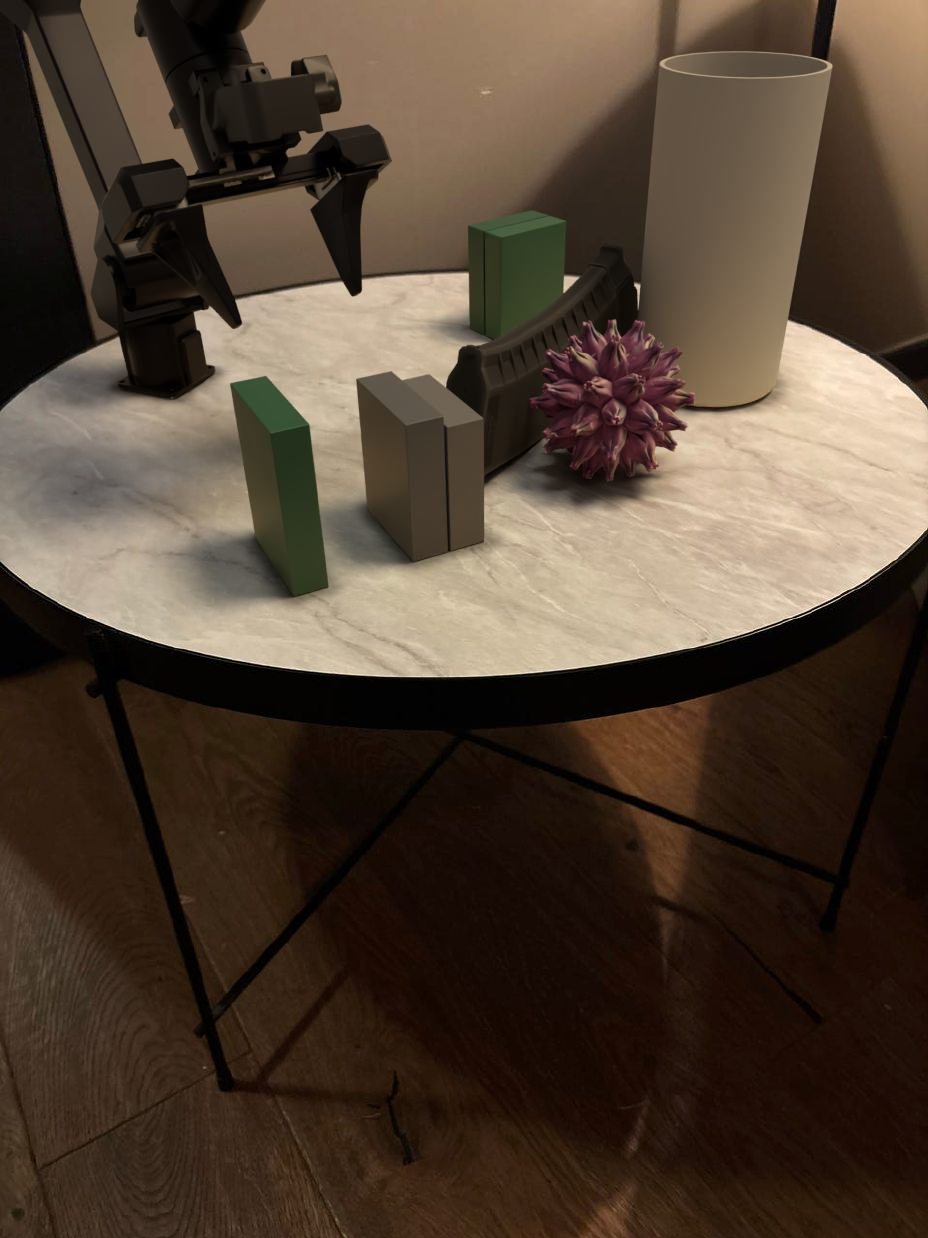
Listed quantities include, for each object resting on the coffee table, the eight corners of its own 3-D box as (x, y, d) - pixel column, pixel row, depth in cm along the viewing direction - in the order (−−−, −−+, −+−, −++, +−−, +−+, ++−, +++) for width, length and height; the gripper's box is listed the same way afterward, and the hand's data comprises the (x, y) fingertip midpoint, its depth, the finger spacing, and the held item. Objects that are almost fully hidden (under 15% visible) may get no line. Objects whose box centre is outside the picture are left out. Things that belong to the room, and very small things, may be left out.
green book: (255, 538, 71) (229, 382, 64) (288, 529, 71) (266, 375, 65) (293, 597, 65) (270, 432, 58) (329, 586, 66) (309, 423, 59)
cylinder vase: (634, 408, 86) (663, 78, 71) (630, 351, 96) (656, 51, 81) (785, 413, 85) (847, 78, 70) (766, 355, 95) (816, 50, 80)
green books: (500, 342, 98) (500, 236, 92) (469, 328, 102) (467, 224, 96) (562, 323, 102) (566, 220, 96) (530, 310, 105) (532, 209, 100)
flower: (517, 469, 81) (643, 410, 84) (596, 534, 72) (734, 466, 75) (487, 335, 74) (625, 275, 76) (570, 389, 65) (724, 319, 67)
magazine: (453, 399, 67) (635, 164, 81) (412, 389, 68) (598, 159, 83) (490, 569, 80) (641, 340, 95) (455, 558, 82) (609, 334, 96)
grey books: (366, 508, 74) (355, 378, 68) (434, 490, 76) (428, 362, 70) (413, 562, 68) (405, 425, 62) (484, 541, 70) (483, 406, 64)
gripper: (94, 17, 54) (208, 306, 56) (385, -11, 63) (472, 239, 65) (57, 114, 63) (157, 358, 66) (314, 77, 72) (393, 292, 75)
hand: (299, 310), depth 68 cm, fingers open, 9 cm apart
